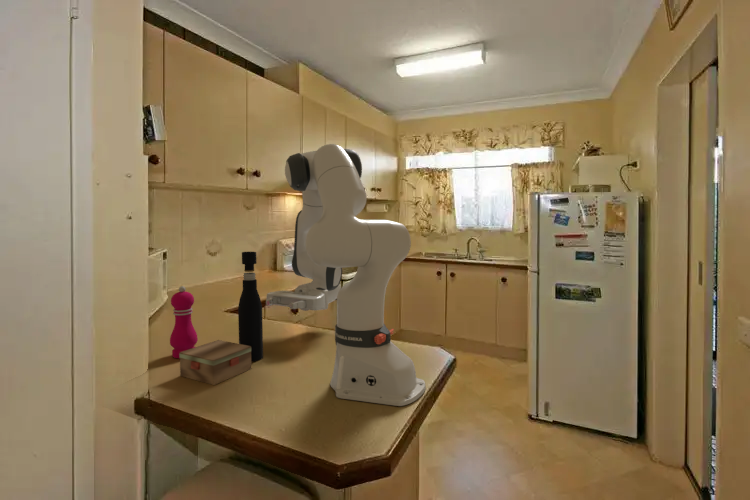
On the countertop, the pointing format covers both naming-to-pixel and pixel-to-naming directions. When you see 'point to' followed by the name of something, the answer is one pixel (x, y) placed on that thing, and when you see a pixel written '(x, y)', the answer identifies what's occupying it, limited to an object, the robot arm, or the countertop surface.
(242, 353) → the wooden box
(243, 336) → the black bottle
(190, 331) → the pepper mill
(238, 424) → the countertop surface
